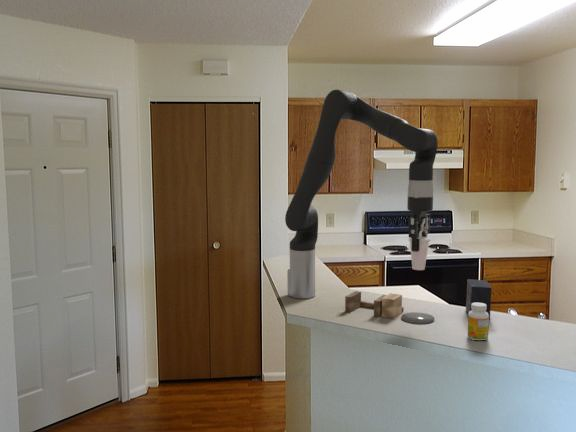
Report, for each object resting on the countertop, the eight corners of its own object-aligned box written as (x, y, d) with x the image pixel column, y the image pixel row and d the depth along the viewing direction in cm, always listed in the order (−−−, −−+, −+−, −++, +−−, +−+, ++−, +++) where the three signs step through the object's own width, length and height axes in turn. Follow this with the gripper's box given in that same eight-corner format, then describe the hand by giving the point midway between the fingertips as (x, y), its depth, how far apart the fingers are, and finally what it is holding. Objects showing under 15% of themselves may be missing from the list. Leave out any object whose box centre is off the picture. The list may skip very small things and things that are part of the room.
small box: (491, 320, 166) (492, 287, 165) (469, 319, 167) (470, 286, 166) (486, 311, 176) (487, 279, 175) (465, 309, 177) (466, 278, 176)
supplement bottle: (464, 335, 152) (465, 301, 151) (482, 334, 152) (483, 301, 151) (472, 342, 147) (473, 307, 146) (491, 341, 147) (492, 306, 146)
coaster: (396, 320, 166) (396, 318, 166) (407, 312, 174) (407, 310, 174) (428, 325, 161) (428, 323, 161) (438, 317, 169) (438, 315, 169)
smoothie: (417, 271, 162) (418, 225, 160) (403, 267, 167) (404, 223, 166) (433, 269, 165) (435, 224, 163) (419, 266, 170) (420, 222, 169)
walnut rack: (345, 311, 176) (345, 293, 176) (356, 304, 184) (357, 287, 183) (393, 319, 168) (393, 300, 167) (403, 311, 175) (403, 293, 175)
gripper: (416, 193, 171) (414, 245, 173) (400, 196, 159) (399, 252, 161) (439, 194, 167) (438, 247, 169) (425, 197, 155) (423, 254, 157)
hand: (419, 249), depth 165 cm, fingers closed on smoothie, 6 cm apart
